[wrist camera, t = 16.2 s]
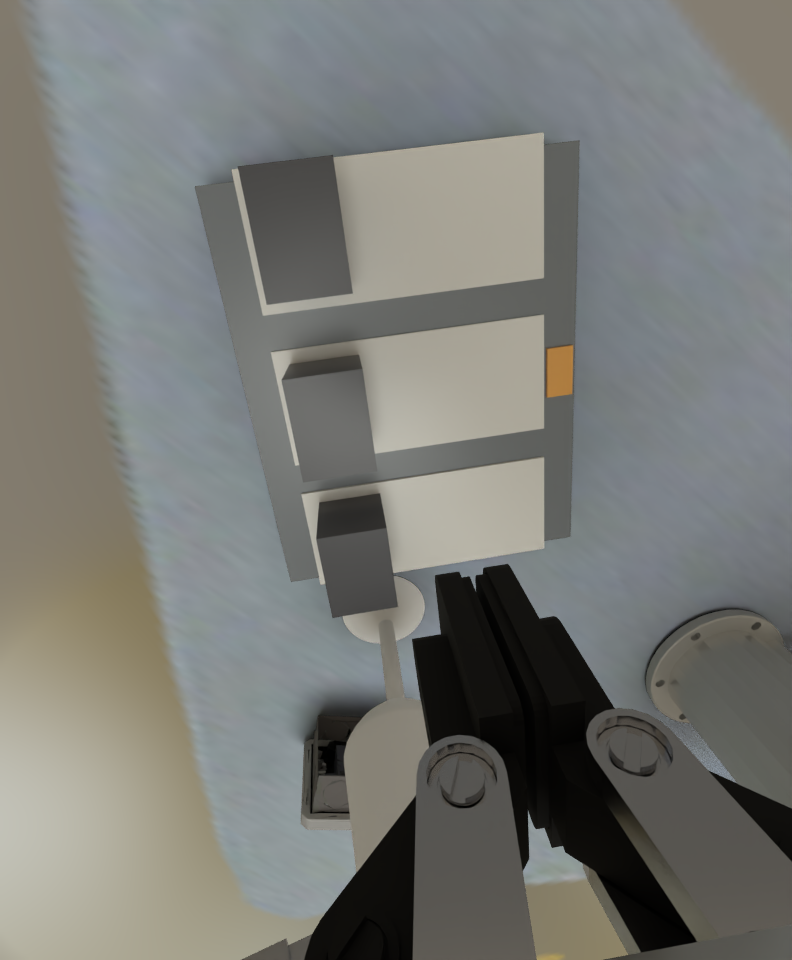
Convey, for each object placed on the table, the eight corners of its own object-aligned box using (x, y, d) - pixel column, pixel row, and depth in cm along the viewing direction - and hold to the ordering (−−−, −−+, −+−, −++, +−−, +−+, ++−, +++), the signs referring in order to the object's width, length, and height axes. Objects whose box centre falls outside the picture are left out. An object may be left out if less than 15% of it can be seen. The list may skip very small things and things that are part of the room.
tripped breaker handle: (358, 354, 29) (362, 368, 25) (372, 444, 31) (377, 471, 27) (289, 364, 29) (281, 380, 24) (307, 453, 31) (303, 482, 27)
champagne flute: (377, 559, 38) (432, 951, 16) (442, 602, 40) (566, 998, 18) (324, 618, 40) (308, 1048, 18) (389, 656, 42) (446, 1080, 20)
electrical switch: (302, 745, 45) (296, 847, 36) (309, 697, 44) (305, 792, 35) (404, 748, 47) (422, 847, 38) (414, 703, 45) (435, 794, 36)
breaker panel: (556, 142, 29) (631, 99, 21) (553, 523, 39) (604, 582, 31) (206, 184, 28) (159, 154, 20) (295, 564, 38) (285, 636, 30)
